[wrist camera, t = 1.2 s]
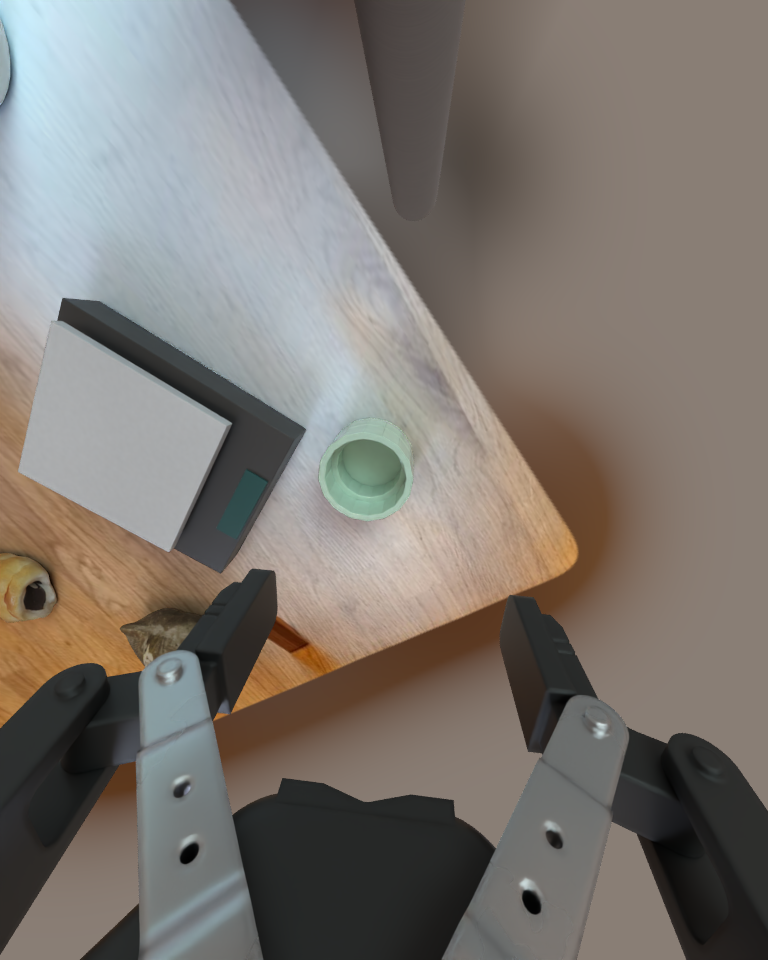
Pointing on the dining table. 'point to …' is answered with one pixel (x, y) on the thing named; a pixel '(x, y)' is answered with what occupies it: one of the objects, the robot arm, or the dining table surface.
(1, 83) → the milk bottle
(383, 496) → the cup
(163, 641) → the fossilized seashell
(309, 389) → the dining table surface
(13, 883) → the robot arm
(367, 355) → the dining table surface
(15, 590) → the pastry
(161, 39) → the dining table surface
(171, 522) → the scale
